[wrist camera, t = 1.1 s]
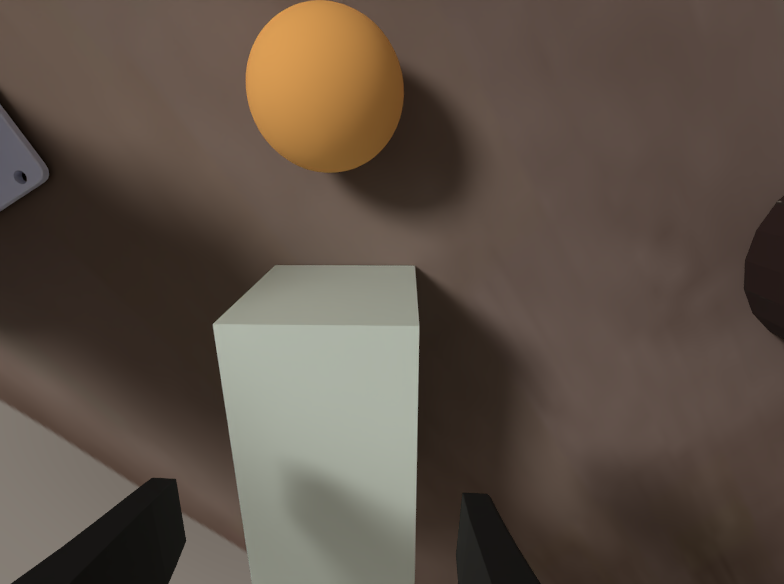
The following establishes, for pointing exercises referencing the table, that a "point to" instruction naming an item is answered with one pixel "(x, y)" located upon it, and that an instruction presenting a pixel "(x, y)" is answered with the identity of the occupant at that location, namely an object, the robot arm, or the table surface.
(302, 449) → the mint green block
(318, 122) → the ball
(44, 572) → the robot arm
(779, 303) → the lantern
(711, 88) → the table surface
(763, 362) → the table surface
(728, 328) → the table surface
